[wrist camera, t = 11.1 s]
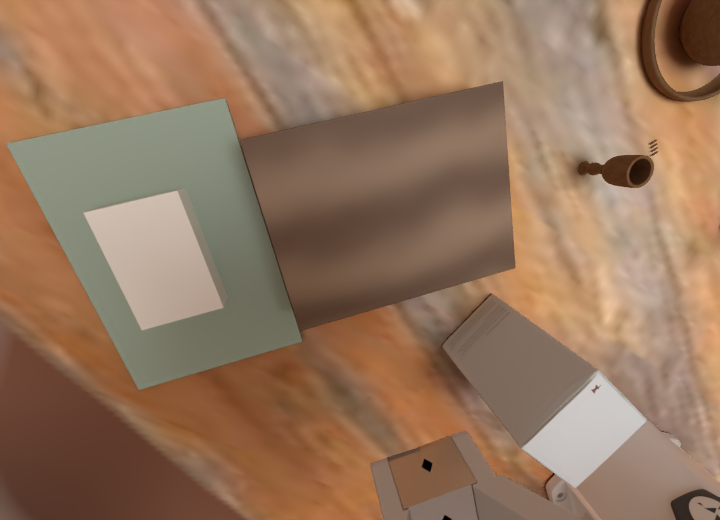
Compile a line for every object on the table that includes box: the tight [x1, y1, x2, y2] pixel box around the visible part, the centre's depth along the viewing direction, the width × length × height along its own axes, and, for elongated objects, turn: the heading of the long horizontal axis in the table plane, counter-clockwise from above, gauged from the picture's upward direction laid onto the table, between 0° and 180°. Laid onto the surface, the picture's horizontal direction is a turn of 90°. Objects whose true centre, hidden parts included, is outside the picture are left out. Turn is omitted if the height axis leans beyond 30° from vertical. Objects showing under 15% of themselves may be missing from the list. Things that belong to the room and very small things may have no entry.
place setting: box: [578, 0, 720, 188], centre depth 27 cm, size 18×20×6 cm
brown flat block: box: [240, 81, 515, 331], centre depth 27 cm, size 14×18×4 cm
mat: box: [7, 98, 302, 390], centre depth 27 cm, size 20×14×1 cm
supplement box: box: [442, 294, 646, 488], centre depth 29 cm, size 7×7×13 cm
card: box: [84, 188, 228, 330], centre depth 25 cm, size 9×6×2 cm, turn 13°
